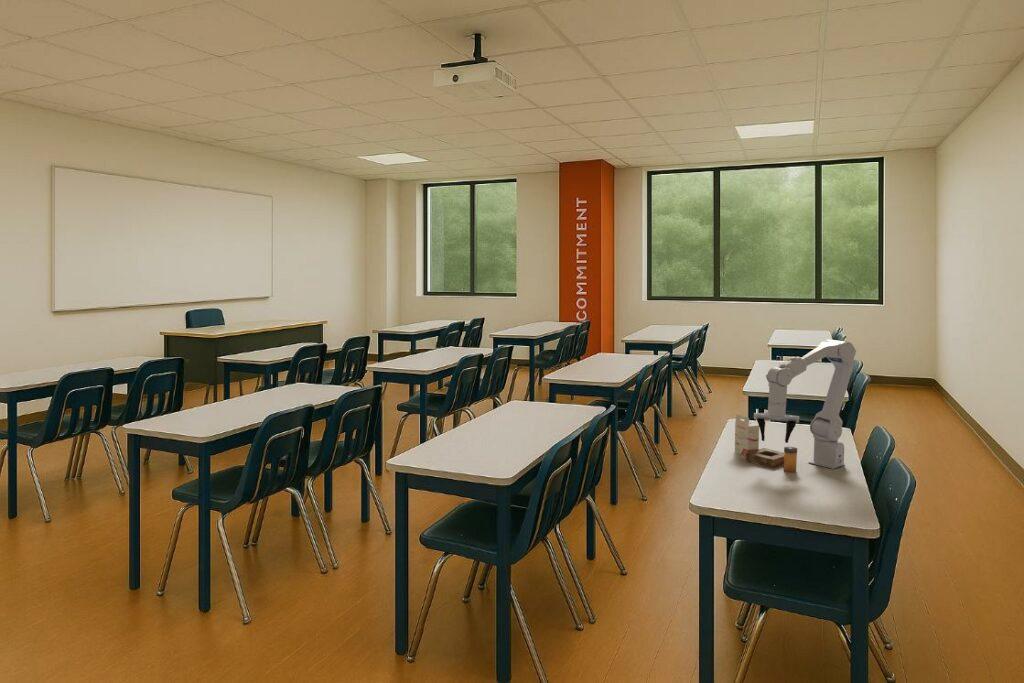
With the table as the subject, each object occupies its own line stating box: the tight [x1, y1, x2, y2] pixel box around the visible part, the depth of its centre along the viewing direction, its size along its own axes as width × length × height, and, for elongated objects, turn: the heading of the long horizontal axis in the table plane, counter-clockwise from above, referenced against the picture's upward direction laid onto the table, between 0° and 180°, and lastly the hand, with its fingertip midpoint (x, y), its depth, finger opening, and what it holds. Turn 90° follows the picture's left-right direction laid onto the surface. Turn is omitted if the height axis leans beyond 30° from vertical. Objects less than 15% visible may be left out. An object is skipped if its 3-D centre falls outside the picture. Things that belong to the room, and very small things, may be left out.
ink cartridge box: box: [734, 413, 760, 457], centre depth 266 cm, size 9×5×15 cm, turn 17°
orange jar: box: [783, 446, 798, 474], centre depth 245 cm, size 4×4×8 cm
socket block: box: [745, 447, 784, 469], centre depth 256 cm, size 11×11×3 cm
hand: (774, 441), depth 246 cm, fingers open, 7 cm apart
